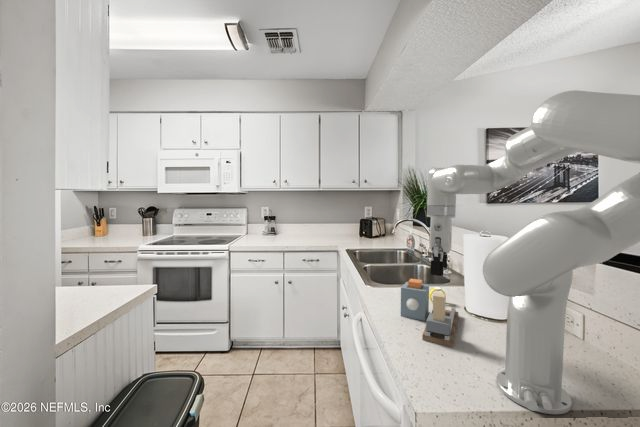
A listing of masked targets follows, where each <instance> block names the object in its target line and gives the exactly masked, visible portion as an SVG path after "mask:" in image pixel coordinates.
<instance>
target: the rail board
mask: <svg viewBox="0 0 640 427" xmlns="http://www.w3.org/2000/svg"><path fill="white" fill-rule="evenodd" d="M456 309H457V308H456V307H451V309H450V310H449V309H445V316H449V317H451V329H450V334H449V335H444V334H440V333H435V332H431V331H426V327H425V328H424V331H423V332H422V340H423V341H425V342H430V343H434V344H439V345H443V346H448V347H451V348H453V347H454V342H455V338H456V337H455V336H456V332H457V331H456V330H457V327H458V320H459V311H456ZM431 313H433V310H431Z"/></svg>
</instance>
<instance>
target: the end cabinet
mask: <svg viewBox="0 0 640 427" xmlns="http://www.w3.org/2000/svg"><path fill="white" fill-rule="evenodd" d="M429 293H430V285H429V284H427V283H426V284H424V283H422V289H415V288H408V281H405V283H403V285H402V286H401V287H400V317H403V318H404V317H405V318H408V319H414V320H419V321H426V320H427V318H428V316H429V313H430V308H429V307H430V305H429V304H430V301H429V300H430V298H429Z"/></svg>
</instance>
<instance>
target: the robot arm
mask: <svg viewBox="0 0 640 427" xmlns="http://www.w3.org/2000/svg"><path fill="white" fill-rule="evenodd" d="M530 122H531V124H530V125H529V126H527V127H526V128H523V129H522V130H520V131H518V132H516V133H514V134H512V135H511V136H510V137H508V139H506V142H505V145H504V151H505V154H504V155H502V156H501V157H498V158H497V159H496V160H493V161H491V162H489V163H487V164H484V165H479V164H454V165H450V166H447V167H437V168H435V167H434V168H431V169H430V170H429V171H428V173H427V197H426V201H427V202H426V217H427V218H430V223H429V224H430V227H429V228H430V229H429V251H430V252H431V258H430V275H432V276H439V277H443V276H444V269H445V268H447V267H448V254H449V253H451V251H452V235H453V234H452V231H453V229H452V228H453V227H452V224H453V223H452V219H455V218H456V213H457V211H456V210H457V209H456V208H457V207H456V206H457V195H484V194H488V193H489V194H490V193H493V192H494V191H498V190H500V189H503V188H505V187H506V188H507V187H508V186H511V185H513V184H515V183H517V182H518V181H520V180H522V179H523V178H524V177H526V176H527V175H529V173H530V172H532V171H534V170H536V169H539V168H542V167H543V166H546V165H548V164H552V163H554V162H556V161H559V160H561V159H565V158H566V157H568V156H571V155H574V154H576V153H579V152H584V153H587V154H592V155H593V154H594V155H598V156H600V157H601V156H602V157H607V158H611V159H615V160H619V161H624V162H628V163H634V164H638V165H639V164H640V94H628V93H627V94H626V93H625V94H624V93H613V92H612V93H611V92H598V91H597V92H596V91H586V90H577V89H576V90H566V91H561V92H560V93H557V94H554V95H552V96H550V97H548V98H547V99H546V100H544V101H543V102H542V103H540V105H539V106H538V107H537V108H536V110H535V111H534V113H533V115H532V118H531V121H530ZM639 243H640V172H638V173H637V174H635V175H633V176H631V177H629V178H627V179H626V180H623V181H621V182H620V183H618V184H617V185H615V186H614V187H612V188H610V189H609V190H608V191H606V192H605V193H603V194H602V195H601V196H599V197H598V198H596V199H595V200H593V201H591V202H590V203H588V204H587V205H585V206H583V207H581V208H579V209H574V210H566V211H565V210H562V211H555V212H554V211H553V212H549V213H547V214H544V215H542V216H539V217H536V218H534V220H532V221H530V222H528V223H527V224H526V225H525V226H523V227H522V228H520V229H519V230H518V231H516V232H514V233H513V234H512V235H511V236H510V237H508V238H507V239H506V240H504V241H503V242H501V243H500V244H498V245H497V246H496V247H495V248H494V249H492V250H491V251H490V252H489V253H488V254H487V256H486V257H485V259H484V262H483V265H482V275H483V279H484V281H485V283H486V284H487V286H488V287H489V288H490V289H491V290H493V291H494V292H495V293H497V294H499V295H502V296H505V297H509V298H508V302H507V314H506V315H507V316H506V338H505V339H506V340H505V367H504V368H505V369H504V370H501V371H500V372H498V373H497V375H496V379H495V380H496V386H497V387H498V389H499V390H500V392H501V393H503V394H504V396H506V397H507V398H509V399H510V400H511V401H513V402H515V403H516V404H518V405H519V406H522V407H524V408H526V409H528V410H529V411H533V412H537V413H542V414H546V415H564V414H566V413H569V411H571V409H572V398H571V396H570V395H569V393H568V392H567V391H566V390H565V389H563V371H564V370H563V368H564V352H565V351H564V350H565V348H564V347H565V332H566V331H565V330H566V314H567V305H568V299H569V294H570V290H571V287H572V283H573V275H574V274H573V273H574V272H573V271H574V270H577V269H579V268H585V267H588V266H593V265H597V264H601V263H605V262H607V261H608V260H611V259H612V258H614V257H615V256H617V255H618V254H621V253H622V252H624V251H625V250H627V249H629V248H631V247H633V246H635V245H637V244H639Z"/></svg>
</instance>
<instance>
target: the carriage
mask: <svg viewBox="0 0 640 427" xmlns="http://www.w3.org/2000/svg"><path fill="white" fill-rule="evenodd" d="M433 293H434V294H433V295H432V301H433V302H432V311H433V313H432V312H429V313H428V315H427V317H426V319H425V321H426V322H425V323H426V324H425V325H426V326H425V328H426V331H431V332H435V333H440V334H444V335H449V334H450V329H451V317H449V316H445V310H446V303H447V302H446V300H447V298H446V296H447V294H446V293H445V294H443V293H441V292H433Z"/></svg>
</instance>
